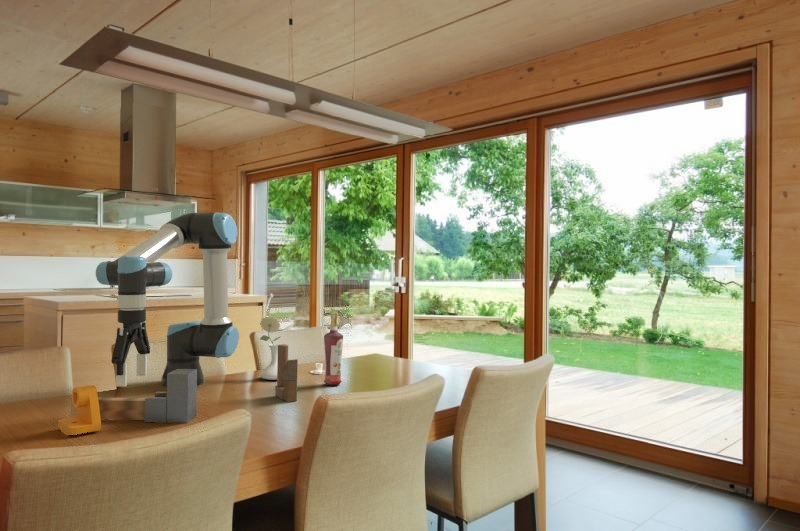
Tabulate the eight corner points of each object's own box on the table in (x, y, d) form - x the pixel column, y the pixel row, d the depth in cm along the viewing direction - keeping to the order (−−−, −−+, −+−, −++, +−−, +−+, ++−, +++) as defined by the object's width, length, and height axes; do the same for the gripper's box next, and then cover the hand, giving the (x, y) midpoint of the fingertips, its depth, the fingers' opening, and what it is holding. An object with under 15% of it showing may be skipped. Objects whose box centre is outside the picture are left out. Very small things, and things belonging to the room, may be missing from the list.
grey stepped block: (156, 414, 172) (157, 368, 172) (196, 415, 173) (197, 369, 173) (144, 422, 164) (145, 374, 164) (186, 423, 164) (187, 374, 164)
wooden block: (287, 402, 191) (288, 348, 191) (274, 396, 199) (275, 344, 199) (297, 401, 193) (298, 348, 193) (284, 394, 202) (285, 343, 202)
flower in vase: (294, 377, 231) (295, 316, 231) (276, 383, 221) (278, 318, 221) (268, 374, 237) (269, 314, 237) (249, 379, 226) (251, 316, 226)
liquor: (334, 387, 214) (335, 313, 214) (319, 385, 218) (320, 312, 218) (346, 384, 221) (347, 312, 221) (331, 382, 225) (332, 310, 224)
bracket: (56, 430, 155) (57, 386, 155) (85, 424, 161) (86, 382, 161) (71, 438, 148) (72, 392, 148) (101, 432, 154) (101, 388, 154)
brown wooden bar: (91, 420, 166) (92, 400, 166) (97, 417, 169) (98, 397, 169) (161, 421, 166) (161, 401, 166) (166, 418, 170) (166, 398, 170)
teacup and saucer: (318, 376, 238) (318, 366, 238) (304, 373, 242) (304, 364, 242) (332, 373, 245) (332, 363, 245) (318, 370, 250) (318, 361, 250)
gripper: (137, 304, 180) (137, 371, 181) (97, 313, 155) (97, 390, 156) (161, 304, 180) (161, 371, 181) (125, 313, 155) (125, 391, 156)
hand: (131, 380), depth 168 cm, fingers open, 13 cm apart
